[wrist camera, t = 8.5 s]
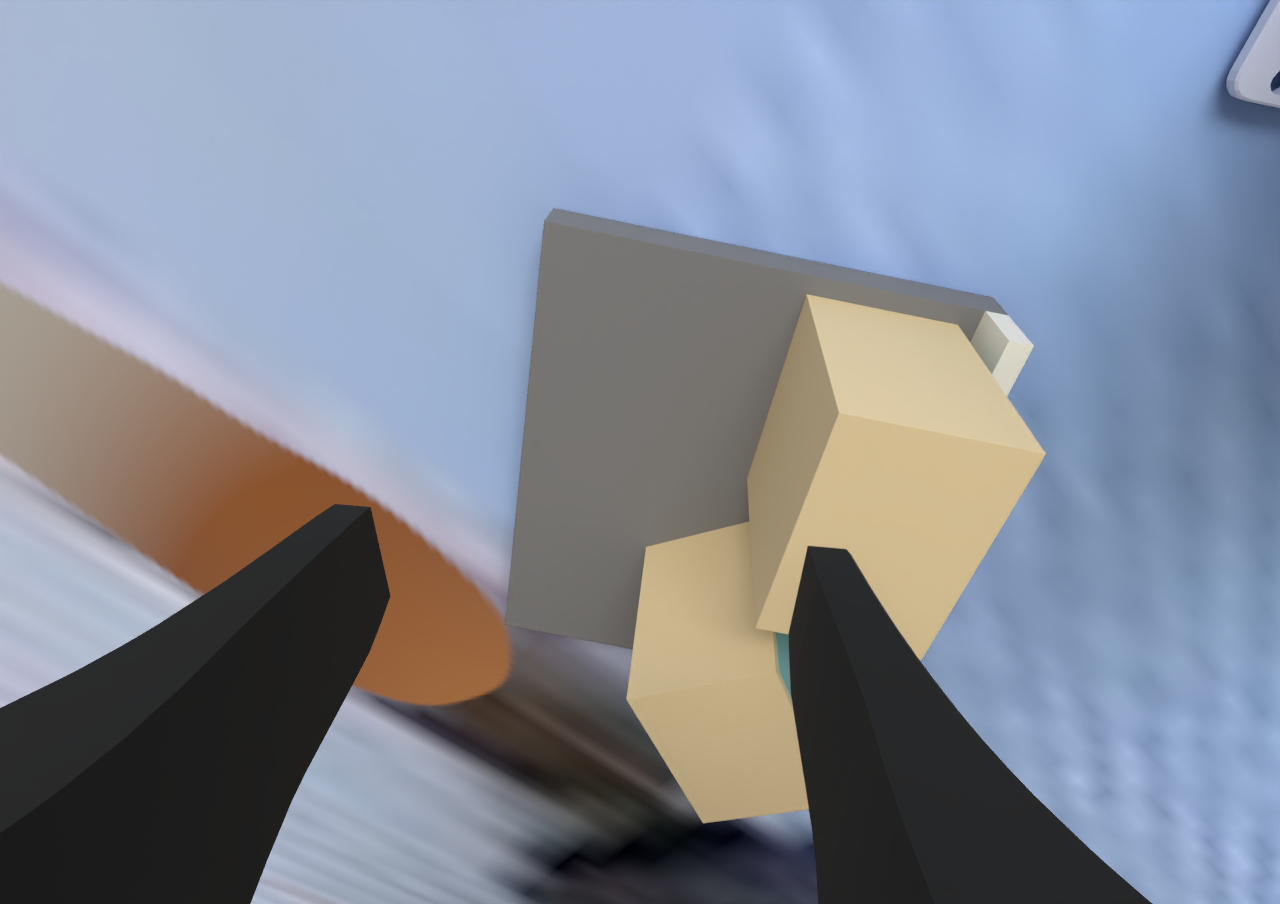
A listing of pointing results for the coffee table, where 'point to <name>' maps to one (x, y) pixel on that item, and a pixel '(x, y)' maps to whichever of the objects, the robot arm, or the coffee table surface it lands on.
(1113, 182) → the coffee table surface
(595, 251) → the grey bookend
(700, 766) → the carton
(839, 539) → the carton faced
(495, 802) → the coffee table surface
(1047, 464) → the coffee table surface
